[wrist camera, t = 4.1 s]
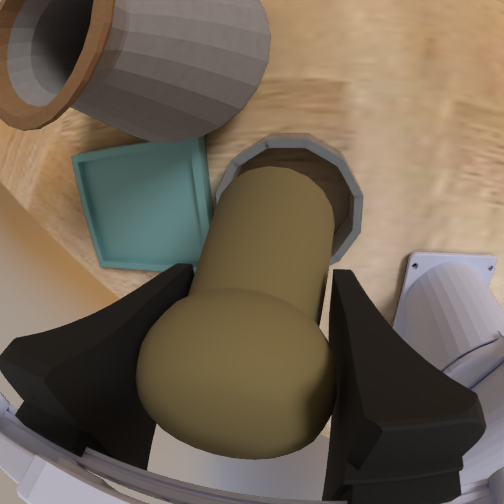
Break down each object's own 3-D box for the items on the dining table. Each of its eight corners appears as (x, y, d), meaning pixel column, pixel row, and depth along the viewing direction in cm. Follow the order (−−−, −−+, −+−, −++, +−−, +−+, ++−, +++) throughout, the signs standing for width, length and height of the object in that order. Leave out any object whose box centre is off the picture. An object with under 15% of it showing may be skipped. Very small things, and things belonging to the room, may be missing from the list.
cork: (290, 292, 17) (263, 488, 8) (196, 238, 16) (90, 417, 7) (359, 212, 14) (415, 430, 5) (252, 142, 13) (124, 299, 4)
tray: (220, 266, 24) (216, 274, 23) (107, 259, 26) (100, 266, 25) (204, 134, 19) (197, 137, 18) (80, 152, 21) (71, 156, 20)
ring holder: (352, 257, 21) (355, 277, 19) (234, 253, 23) (225, 271, 21) (359, 134, 17) (365, 140, 15) (222, 136, 19) (209, 142, 17)
